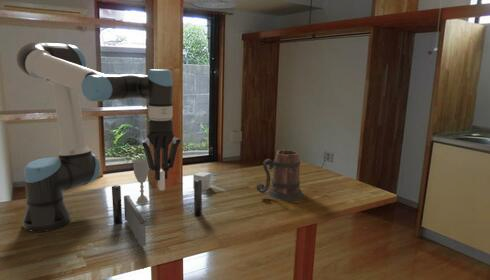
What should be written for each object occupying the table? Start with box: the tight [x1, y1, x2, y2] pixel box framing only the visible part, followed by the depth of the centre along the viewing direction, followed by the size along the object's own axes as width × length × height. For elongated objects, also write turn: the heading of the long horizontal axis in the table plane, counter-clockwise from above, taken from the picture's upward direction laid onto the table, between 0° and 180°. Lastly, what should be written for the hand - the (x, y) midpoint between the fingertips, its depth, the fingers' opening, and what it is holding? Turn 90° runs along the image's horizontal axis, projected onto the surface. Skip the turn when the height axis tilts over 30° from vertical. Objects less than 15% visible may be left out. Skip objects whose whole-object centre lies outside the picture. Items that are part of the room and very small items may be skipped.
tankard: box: [256, 149, 304, 201], centre depth 166 cm, size 24×17×20 cm
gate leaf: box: [123, 194, 147, 248], centre depth 124 cm, size 25×2×10 cm, turn 29°
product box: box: [192, 171, 212, 192], centre depth 173 cm, size 6×6×7 cm
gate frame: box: [111, 180, 203, 225], centre depth 138 cm, size 33×3×14 cm, turn 108°
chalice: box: [132, 158, 150, 205], centre depth 153 cm, size 7×7×18 cm
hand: (161, 188), depth 120 cm, fingers closed
